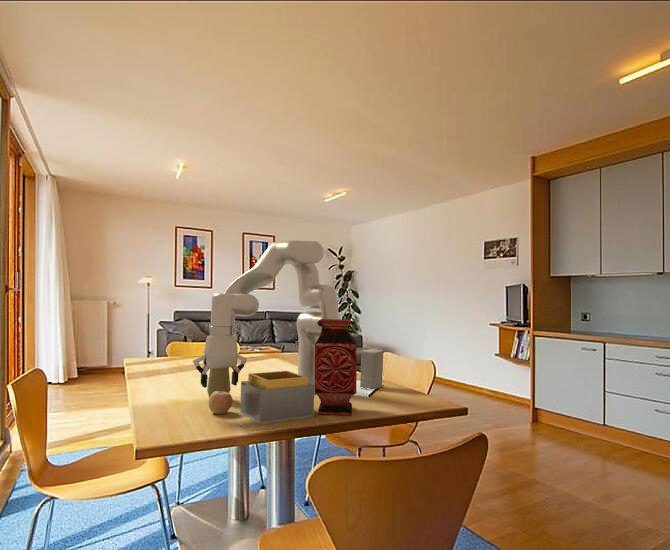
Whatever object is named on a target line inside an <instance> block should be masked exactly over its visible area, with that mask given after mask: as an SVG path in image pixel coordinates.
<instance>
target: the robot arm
mask: <svg viewBox="0 0 670 550" xmlns="http://www.w3.org/2000/svg"><path fill="white" fill-rule="evenodd" d="M266 248H267V249H266V250H265V251H264V252H263V254H262V255H261V256H260V258H259V259H258V260H257V261H256V263H255V265H254V266H253V267H251V269H249V270H248V271H246V272H244V273H243V274H242V275H240V276H239V277H237V278H236V279H235V280H234V281H232V282H231V283H230V284H229V285H228V287H227V288H226V290H225V291H224V292H222V293H213V295H212V298H211V311H210V325H209V327H210V331H209V335H207V336H206V339H205V344H204V348H203V349H204V351H203V354H202V355H200V356H198V357H196V358H195V359H193V360H192V363H193V366H194V367H195V369H196V370H197V371H198V372H199V373H200V385H201V387H203V388H207V387H208V379H209V374H207V373H208V372H209V371H210V368H229V369H230V368H231V369H232V372H231V381H230V385H231V384H232V385H233V386H237V385H238V383H239V374H240V372H241V371H242V370H243V368H245V366H246V363H247V361H248V359H247V357H244V356H243V355H241V354H239V353H238V342H237V336H236V335H235V334H236V333H239V328H238V327H237V328H236V326H235V321H236V316H237V317H251V316H253V315H255V314H256V313H257V312H258V310H259V307H260V302H259V300H258V298H257V297H256V296H255V295H252V294H250V293H251V292H253V291H255V290H259V289H261V288H264V287H266V286H268V285H270V284H272V283H273V282H274V280H276V277H277V276H278V275H279V273H280V272H281V271H282V269H283V267H284V266H285V265H288V264H289V265H291V266H292V267H293V268H294V270H295V272H296V275H297V286H298V287H297V288H298V300H299V304H300V306H301V307H303V308H306V309H320V311H309V310H307V311H304V312H301V313H300V314H299V315H298V317H297V319H296V331H297V336H298V337H297V338H298V353H297V355H298V356H297V357H298V358H297V359H298V360H297V374H299V375H302V376H305V377H307V383H309V384H312V385H314V394H316V393H315V343H316V342H317V340H318V338H319V336H320V334H321V329H322V327H321V326H318V324H317V323H318V321H319V320H320V319H339V303H338V301H339V300H338V294H337V292H336V290H335V289H336V288H334V287H333V286H332V285H330V284H320V276H319V275H320V274H319V269H318V268H317V266H316V264H317V263H320V262H321V261H322V259H323V258H324V255H325V252H324V247H323V245H322V244H321V243H320V242H318V241H315V240H297V239H296V240H294V239H293V240H292V239H291V240H279V241H274V242H272V243H270V245H269V246H268V247H266ZM238 361H240V363H239V364H238ZM201 362H202V365H203V366H201V364H200V363H201Z"/></svg>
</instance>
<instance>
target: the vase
mask: <svg viewBox="0 0 670 550" xmlns="http://www.w3.org/2000/svg"><path fill="white" fill-rule="evenodd" d="M317 324H318V326H321V327H322V329H321V334H320V336H319V338H318V340H317V342H316V343H315V393H314V394H316V395H317V396H318V398H319V401H320V403H319V407H318V410H317V412H318V415H320V416H321V415H328V416H352V415H353V404H352V402H351V399H352V398H353V396H355V395H356V394H357V393H358V392H357V383H358V382H357V381H358V379H357V340H356V338H354V336H353V335H351V333H350V331H349V327H351V326H352V320H351V319H340V318H338V319H320V320H319V321H318V323H317Z"/></svg>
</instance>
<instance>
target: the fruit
mask: <svg viewBox="0 0 670 550" xmlns="http://www.w3.org/2000/svg"><path fill="white" fill-rule="evenodd" d="M219 390H220V388H219ZM208 398H209V397H208ZM232 405H233V397H232V395H231V393H228V392H223V391H221V390H220V391H215V392H214V393H212V394H211V396H210V398H209V399H208V408H209V409H210V411H211V412H212V413H213V414H217V415H223V414H226V413H227V412H228V411H229V410H230V409H231V407H232Z"/></svg>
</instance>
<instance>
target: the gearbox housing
mask: <svg viewBox="0 0 670 550" xmlns="http://www.w3.org/2000/svg"><path fill="white" fill-rule="evenodd" d="M247 377H248V380H241V382H240V403H239V404H240V409H239V410H240V413H241V414H242V415H244V416H246V417H248V418H249V419H250V420H252V421H253V422H254V423H257V424H259V425H266V424H267V425H268V424H272V423H273V424H274V423H279V422H286V421H287V422H288V421H294V420H295V421H296V420H301V419H302V420H303V419H308V418H314V416H315V415H314V414H315V413H314V411H315V410H314V407H315V393H314V385H312V384H309V383H307V377H305V376H302V375H299V374H298V373H295V372H292V371H290V370H279V371H265V372H254V373H253V372H252V373H251V372H250V373H248V376H247Z"/></svg>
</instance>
